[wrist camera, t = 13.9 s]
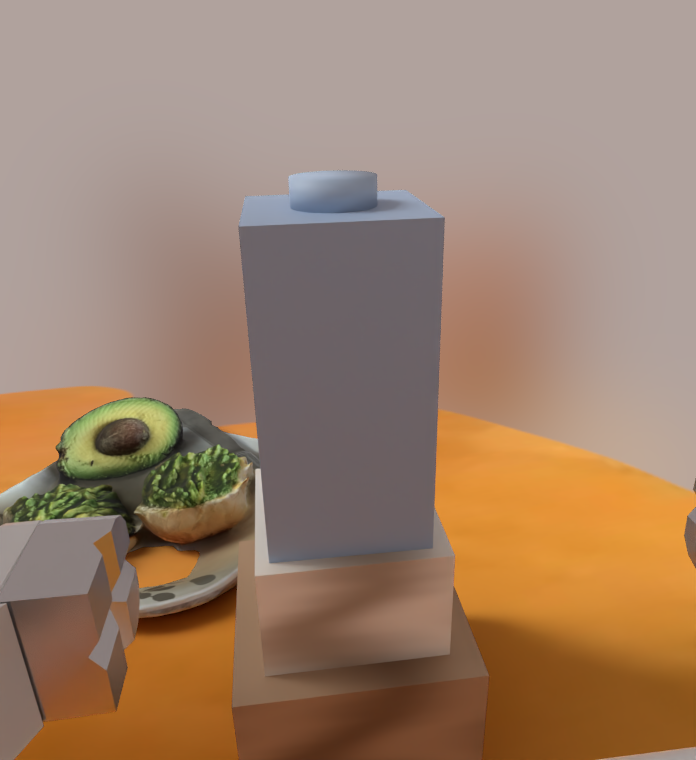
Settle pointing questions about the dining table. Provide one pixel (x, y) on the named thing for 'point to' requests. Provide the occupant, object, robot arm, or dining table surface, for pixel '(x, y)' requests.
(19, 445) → the dining table surface
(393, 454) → the blue brick
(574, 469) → the dining table surface
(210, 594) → the salad plate
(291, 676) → the tower base
